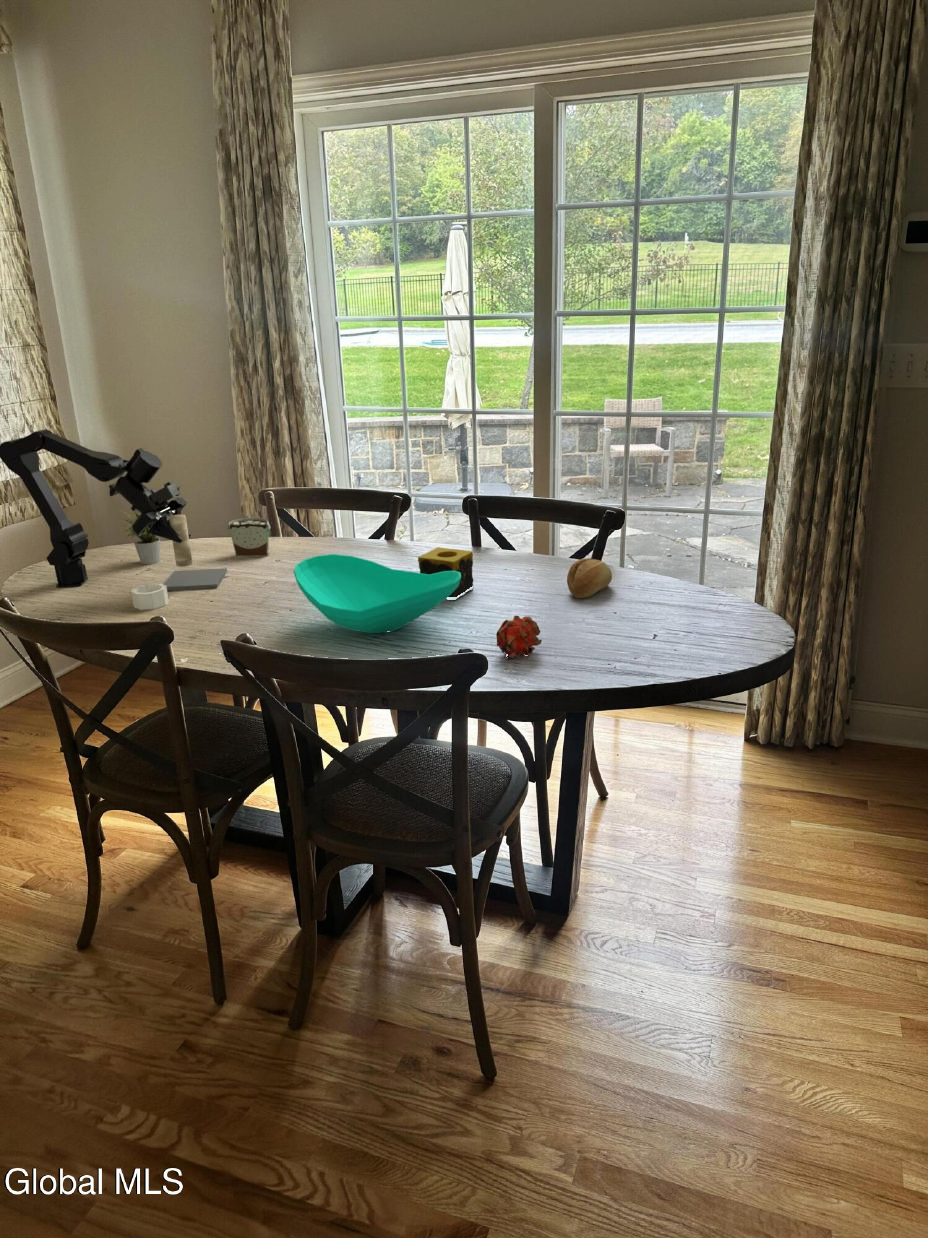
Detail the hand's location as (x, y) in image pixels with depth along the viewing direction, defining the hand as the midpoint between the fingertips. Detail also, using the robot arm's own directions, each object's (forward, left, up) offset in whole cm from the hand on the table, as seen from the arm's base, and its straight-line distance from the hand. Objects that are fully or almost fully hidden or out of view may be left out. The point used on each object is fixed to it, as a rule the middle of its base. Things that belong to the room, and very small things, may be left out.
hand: (185, 539), depth 216 cm
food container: (+12, +29, -13) cm, 34 cm away
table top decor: (+49, -37, -13) cm, 62 cm away
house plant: (-18, +27, -13) cm, 35 cm away
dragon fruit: (+77, -57, -13) cm, 96 cm away
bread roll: (+99, -21, -13) cm, 102 cm away
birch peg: (-1, 0, -7) cm, 7 cm away
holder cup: (-7, -12, -13) cm, 19 cm away
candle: (+65, -16, -13) cm, 68 cm away
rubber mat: (0, +5, -13) cm, 14 cm away
